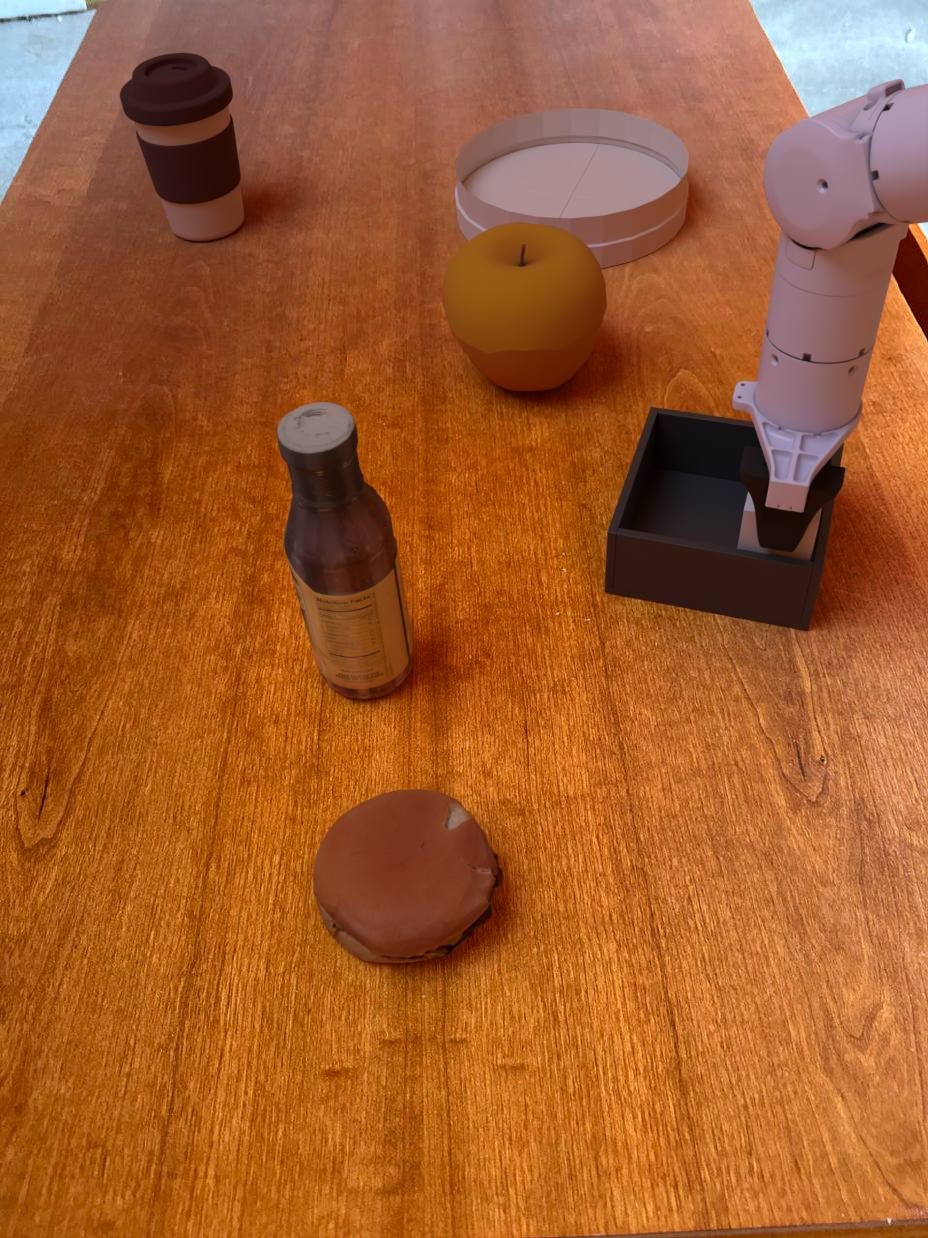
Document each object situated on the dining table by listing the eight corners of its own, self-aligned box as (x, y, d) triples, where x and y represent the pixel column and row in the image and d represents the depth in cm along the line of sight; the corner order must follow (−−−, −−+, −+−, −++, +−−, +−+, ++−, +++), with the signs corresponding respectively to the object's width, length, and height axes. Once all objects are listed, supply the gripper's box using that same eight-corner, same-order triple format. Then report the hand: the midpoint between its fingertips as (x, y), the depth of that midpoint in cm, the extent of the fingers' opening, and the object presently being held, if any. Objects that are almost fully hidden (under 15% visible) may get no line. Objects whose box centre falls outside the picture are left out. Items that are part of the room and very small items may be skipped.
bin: (830, 496, 81) (845, 434, 76) (808, 631, 72) (823, 570, 68) (646, 466, 84) (650, 406, 80) (604, 592, 76) (607, 532, 72)
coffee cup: (185, 261, 107) (143, 101, 96) (141, 222, 113) (96, 66, 102) (277, 225, 111) (246, 67, 100) (229, 189, 117) (194, 35, 106)
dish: (423, 254, 106) (418, 203, 102) (495, 146, 119) (493, 98, 116) (659, 284, 100) (663, 232, 96) (707, 167, 114) (712, 117, 110)
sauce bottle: (344, 621, 75) (293, 370, 60) (431, 644, 73) (400, 391, 59) (299, 695, 71) (232, 446, 56) (390, 721, 69) (346, 470, 55)
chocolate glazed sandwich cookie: (284, 920, 61) (269, 876, 57) (384, 793, 66) (376, 745, 62) (439, 1013, 57) (433, 971, 53) (533, 870, 62) (532, 824, 59)
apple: (506, 441, 87) (501, 310, 78) (416, 362, 94) (403, 235, 86) (638, 378, 91) (647, 248, 83) (542, 307, 99) (541, 181, 90)
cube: (816, 522, 72) (826, 479, 70) (809, 565, 70) (819, 522, 67) (746, 510, 73) (753, 467, 71) (736, 552, 71) (743, 509, 68)
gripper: (763, 253, 66) (735, 438, 76) (721, 403, 57) (696, 590, 67) (890, 267, 64) (845, 455, 74) (867, 424, 55) (819, 613, 65)
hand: (782, 520), depth 71 cm, fingers closed on cube, 4 cm apart
